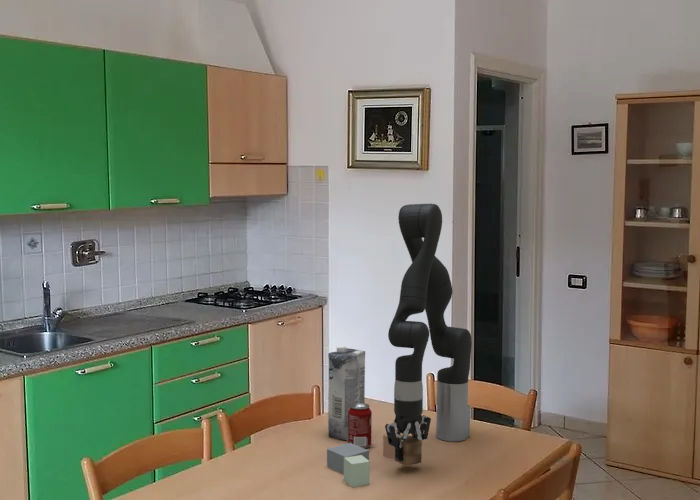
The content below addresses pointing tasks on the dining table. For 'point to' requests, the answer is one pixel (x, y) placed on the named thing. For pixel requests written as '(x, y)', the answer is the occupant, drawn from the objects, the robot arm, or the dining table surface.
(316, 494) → the dining table surface
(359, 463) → the pale green block
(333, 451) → the grey base block
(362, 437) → the soda can
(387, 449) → the tan block
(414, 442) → the walnut block
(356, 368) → the juice carton
